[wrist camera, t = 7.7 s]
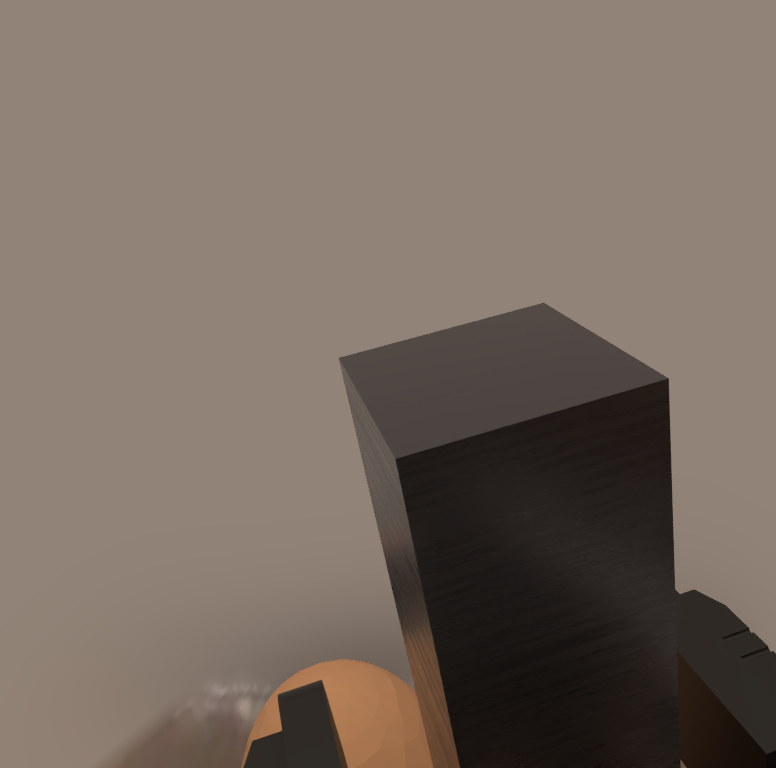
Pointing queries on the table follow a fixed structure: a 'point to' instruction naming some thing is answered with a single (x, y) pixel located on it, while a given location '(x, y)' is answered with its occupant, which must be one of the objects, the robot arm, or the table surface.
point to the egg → (361, 715)
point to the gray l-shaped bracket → (527, 539)
